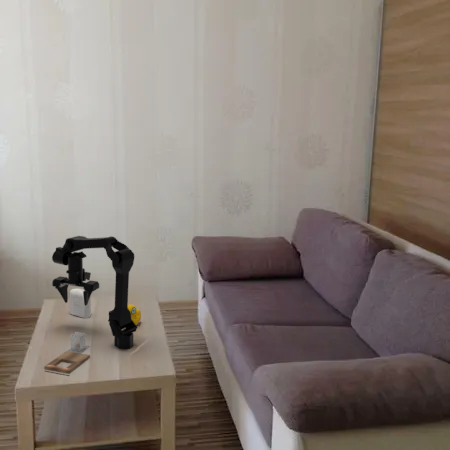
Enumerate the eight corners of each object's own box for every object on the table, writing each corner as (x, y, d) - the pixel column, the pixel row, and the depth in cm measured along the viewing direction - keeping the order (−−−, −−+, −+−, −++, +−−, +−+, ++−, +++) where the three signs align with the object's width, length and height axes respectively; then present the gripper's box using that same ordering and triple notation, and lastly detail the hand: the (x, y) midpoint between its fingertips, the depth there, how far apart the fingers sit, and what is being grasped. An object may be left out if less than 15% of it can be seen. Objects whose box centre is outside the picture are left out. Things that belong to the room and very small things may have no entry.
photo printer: (92, 316, 258) (91, 290, 255) (85, 319, 254) (85, 292, 252) (75, 311, 263) (74, 285, 260) (68, 314, 259) (67, 288, 256)
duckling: (128, 331, 241) (127, 309, 239) (117, 329, 244) (117, 306, 242) (144, 323, 251) (144, 301, 249) (134, 321, 254) (134, 299, 252)
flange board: (90, 360, 214) (89, 354, 213) (69, 376, 201) (69, 370, 200) (66, 355, 217) (66, 350, 216) (44, 371, 204) (44, 365, 203)
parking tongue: (90, 348, 224) (90, 346, 223) (79, 356, 216) (79, 354, 216) (77, 346, 225) (77, 344, 225) (65, 354, 218) (65, 351, 218)
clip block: (85, 347, 222) (85, 333, 221) (80, 351, 218) (79, 337, 217) (76, 346, 223) (76, 331, 222) (71, 350, 219) (70, 335, 218)
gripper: (105, 264, 237) (106, 300, 240) (66, 259, 242) (67, 295, 245) (91, 271, 226) (92, 309, 229) (50, 266, 232) (52, 303, 235)
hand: (76, 303), depth 235 cm, fingers open, 9 cm apart
